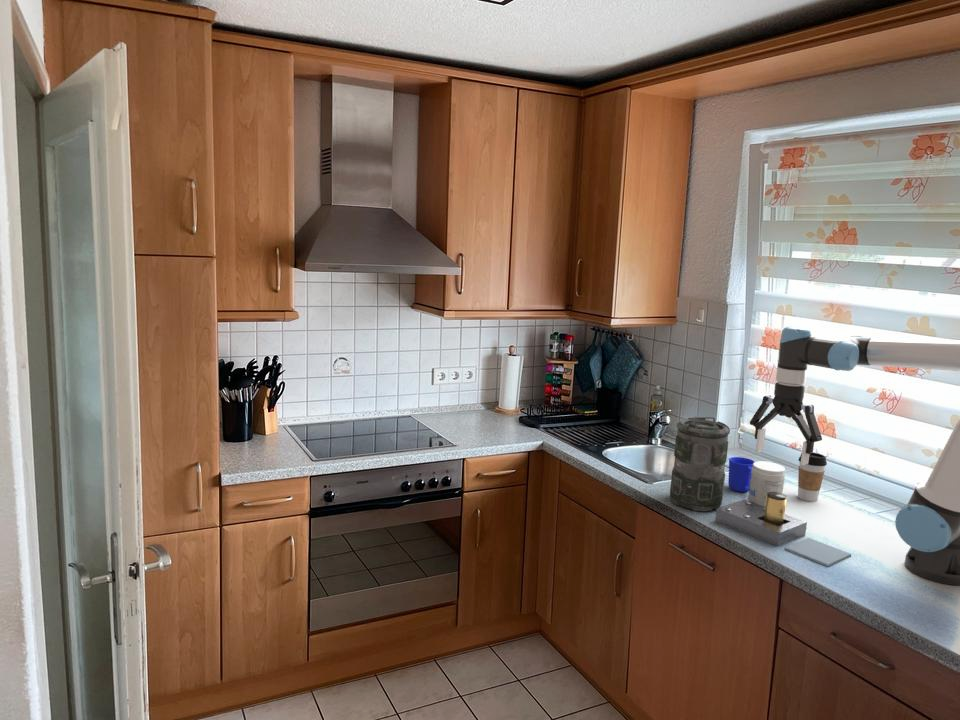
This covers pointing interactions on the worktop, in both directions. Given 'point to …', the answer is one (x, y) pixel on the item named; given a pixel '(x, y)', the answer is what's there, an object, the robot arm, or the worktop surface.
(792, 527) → the housing
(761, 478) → the supplement tub
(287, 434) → the worktop surface
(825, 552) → the mat
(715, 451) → the canister
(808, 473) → the coffee cup
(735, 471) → the mug
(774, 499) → the cylinder
